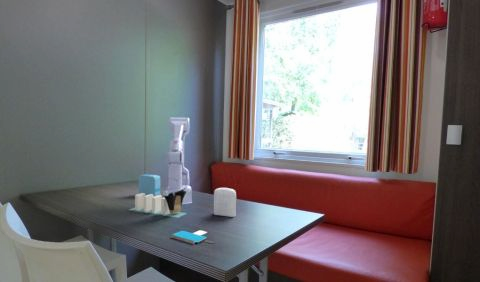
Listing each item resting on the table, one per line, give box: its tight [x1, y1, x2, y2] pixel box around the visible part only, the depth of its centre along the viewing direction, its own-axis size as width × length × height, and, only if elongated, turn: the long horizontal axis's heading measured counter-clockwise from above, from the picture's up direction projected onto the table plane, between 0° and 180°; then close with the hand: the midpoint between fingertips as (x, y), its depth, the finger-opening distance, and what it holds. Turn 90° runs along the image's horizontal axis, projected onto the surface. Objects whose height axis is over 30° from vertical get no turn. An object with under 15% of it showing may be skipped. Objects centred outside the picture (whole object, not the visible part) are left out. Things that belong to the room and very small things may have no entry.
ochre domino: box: [170, 195, 182, 214], centre depth 132 cm, size 2×5×7 cm, turn 144°
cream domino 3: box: [152, 194, 163, 213], centre depth 136 cm, size 2×5×7 cm, turn 157°
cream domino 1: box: [134, 193, 145, 210], centre depth 140 cm, size 2×5×7 cm, turn 157°
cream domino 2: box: [143, 194, 153, 213], centre depth 138 cm, size 2×5×7 cm, turn 156°
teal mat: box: [128, 207, 188, 218], centre depth 136 cm, size 28×7×1 cm, turn 67°
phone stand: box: [171, 229, 215, 245], centre depth 107 cm, size 20×12×2 cm, turn 57°
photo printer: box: [213, 187, 237, 218], centre depth 132 cm, size 10×4×12 cm, turn 72°
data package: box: [138, 173, 161, 197], centre depth 167 cm, size 12×4×12 cm, turn 62°
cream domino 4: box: [161, 196, 170, 216], centre depth 134 cm, size 2×5×7 cm, turn 157°
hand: (175, 208), depth 132 cm, fingers closed on ochre domino, 5 cm apart
